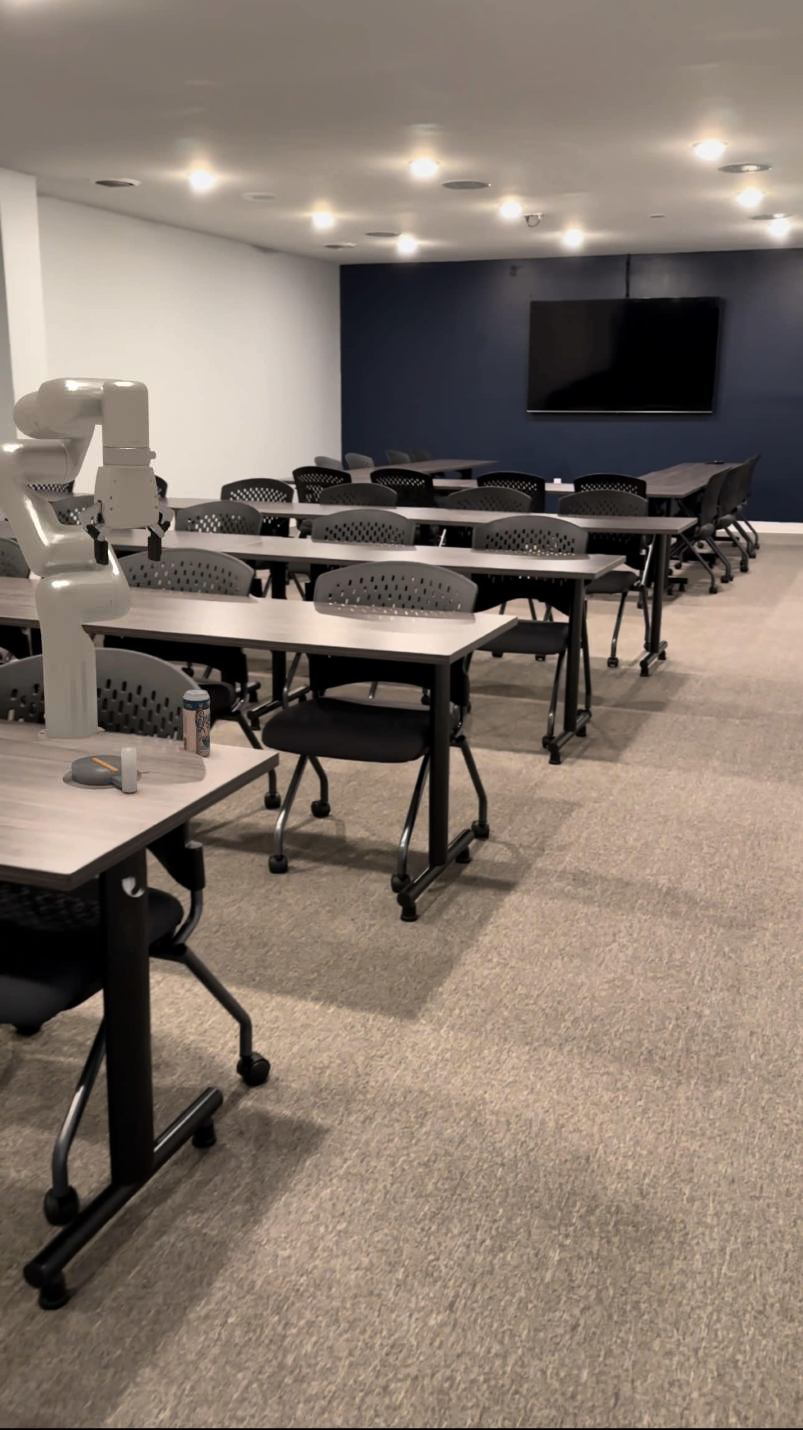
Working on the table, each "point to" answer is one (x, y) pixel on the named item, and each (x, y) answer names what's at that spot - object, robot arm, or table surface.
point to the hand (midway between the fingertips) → (128, 562)
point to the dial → (108, 769)
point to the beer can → (196, 721)
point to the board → (70, 781)
